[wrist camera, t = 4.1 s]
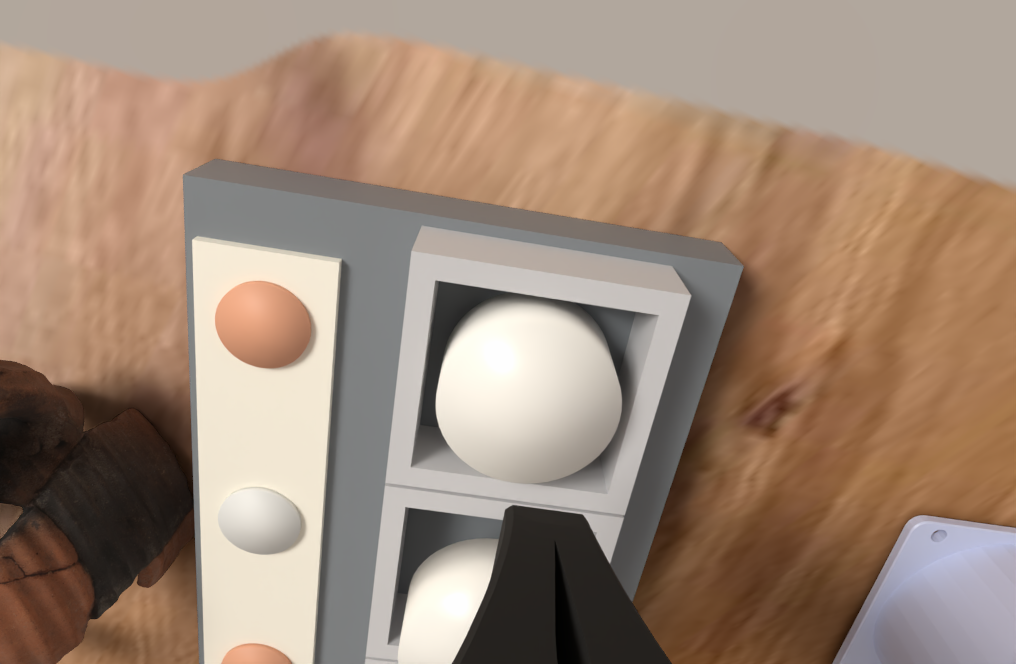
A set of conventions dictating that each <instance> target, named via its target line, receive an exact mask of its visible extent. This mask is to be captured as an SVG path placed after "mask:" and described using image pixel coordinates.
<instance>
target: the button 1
mask: <svg viewBox="0 0 1016 664" xmlns="http://www.w3.org/2000/svg"><path fill="white" fill-rule="evenodd" d="M621 411H622V395H621V388H620V384H619V381H618V377H617V374H616V371H615V367H614V364H613V361H612V357H611V354H610V351H609V347H608V344H607V341H606V339H605V336H604V334H603V332H602V330H601V329H600V327H599V326H598V324H597V323H596V322H595V320H594V319H593V318H592V317H591V316H590V315H589V314H588V313H587V312H586V311H585V310H584V309H582V308H581V307H580V306H578V305H577V304H575V303H574V302H571V301H564V300H558V299H552V298H545V297H539V296H533V295H526V294H520V293H513V292H507V293H504V294H500V295H497V296H494V297H492V298H489V299H487V300H485V301H483V302H482V303H480V304H478V305H477V306H475V307H474V308H473V309H471V310H470V311H469V312H468V313H467V314H466V315H465V316H464V317H463V318H462V319H461V320H460V321H459V322H458V324H457V325H456V326H455V327H454V329H453V331H452V333H451V335H450V336H449V339H448V341H447V344H446V347H445V352H444V356H443V361H442V367H441V372H440V377H439V383H438V388H437V393H436V416H437V420H438V424H439V427H440V430H441V432H442V435H443V437H444V438H445V440H446V442H447V444H448V445H449V446H450V448H451V449H452V450H453V451H454V453H455V454H456V455H457V456H458V457H459V458H460V459H461V460H462V461H464V462H465V463H466V464H468V465H469V466H470V467H472V468H473V469H475V470H477V471H479V472H480V473H482V474H485V475H487V476H489V477H492V478H495V479H498V480H502V481H507V482H512V483H523V484H531V483H543V482H549V481H553V480H557V479H560V478H563V477H566V476H569V475H571V474H573V473H575V472H577V471H579V470H581V469H582V468H584V467H585V466H587V465H588V464H590V463H591V462H592V461H593V460H594V459H596V458H597V457H598V456H599V455H600V454H601V453H602V452H603V451H604V449H605V448H606V447H607V445H608V444H609V443H610V441H611V440H612V438H613V436H614V434H615V432H616V430H617V427H618V424H619V421H620V416H621Z"/></svg>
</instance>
